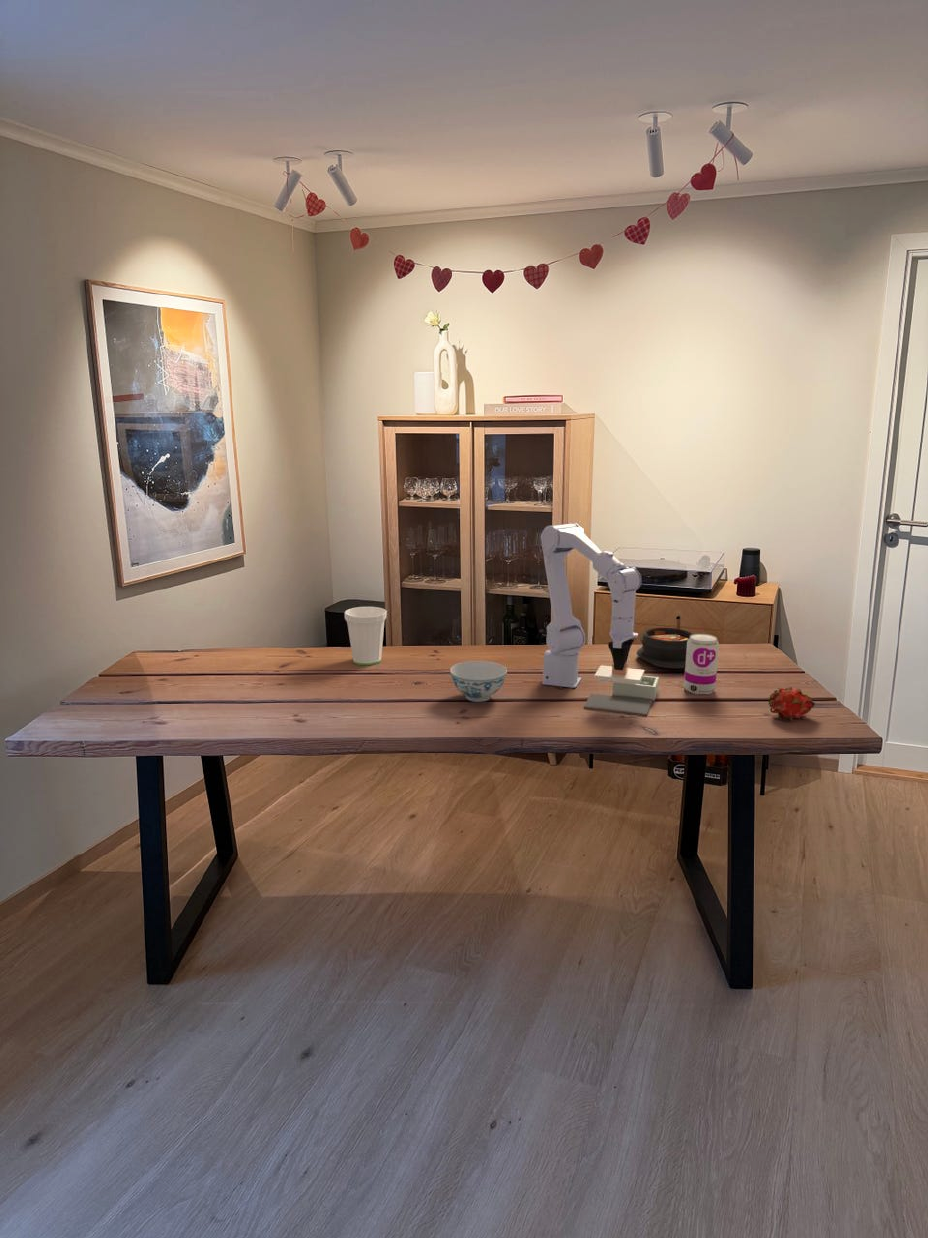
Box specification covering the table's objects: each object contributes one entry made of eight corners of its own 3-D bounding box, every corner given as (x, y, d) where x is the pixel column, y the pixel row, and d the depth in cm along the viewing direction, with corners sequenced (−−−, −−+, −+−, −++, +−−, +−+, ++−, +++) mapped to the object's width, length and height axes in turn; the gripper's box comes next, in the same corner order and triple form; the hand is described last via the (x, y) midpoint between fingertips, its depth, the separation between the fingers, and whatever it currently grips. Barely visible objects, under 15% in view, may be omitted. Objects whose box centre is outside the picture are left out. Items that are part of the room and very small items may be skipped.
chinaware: (480, 712, 218) (481, 683, 216) (438, 698, 228) (438, 670, 226) (518, 696, 229) (518, 669, 227) (476, 683, 239) (476, 657, 237)
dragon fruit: (761, 721, 217) (807, 728, 217) (776, 713, 209) (824, 719, 209) (760, 689, 220) (806, 695, 220) (775, 680, 212) (822, 686, 213)
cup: (352, 653, 265) (350, 605, 261) (392, 655, 263) (390, 607, 259) (341, 666, 253) (339, 616, 249) (382, 668, 251) (381, 618, 247)
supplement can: (716, 696, 229) (720, 642, 225) (684, 694, 231) (688, 641, 227) (713, 686, 237) (718, 634, 233) (683, 684, 239) (686, 632, 235)
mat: (583, 708, 221) (583, 706, 221) (591, 695, 230) (591, 693, 230) (646, 715, 216) (646, 714, 216) (651, 702, 225) (652, 700, 225)
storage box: (612, 696, 229) (613, 682, 228) (617, 686, 237) (618, 672, 236) (654, 701, 226) (655, 686, 225) (658, 691, 233) (658, 677, 232)
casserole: (630, 648, 271) (631, 622, 269) (689, 648, 271) (691, 622, 268) (643, 674, 247) (645, 646, 245) (708, 674, 247) (711, 646, 244)
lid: (594, 681, 219) (595, 665, 218) (600, 671, 227) (601, 656, 226) (639, 687, 216) (640, 670, 214) (644, 676, 223) (645, 660, 222)
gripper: (634, 624, 209) (631, 677, 212) (642, 610, 222) (639, 660, 226) (605, 622, 211) (603, 674, 215) (615, 608, 224) (613, 657, 228)
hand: (620, 667), depth 220 cm, fingers closed on lid, 3 cm apart
